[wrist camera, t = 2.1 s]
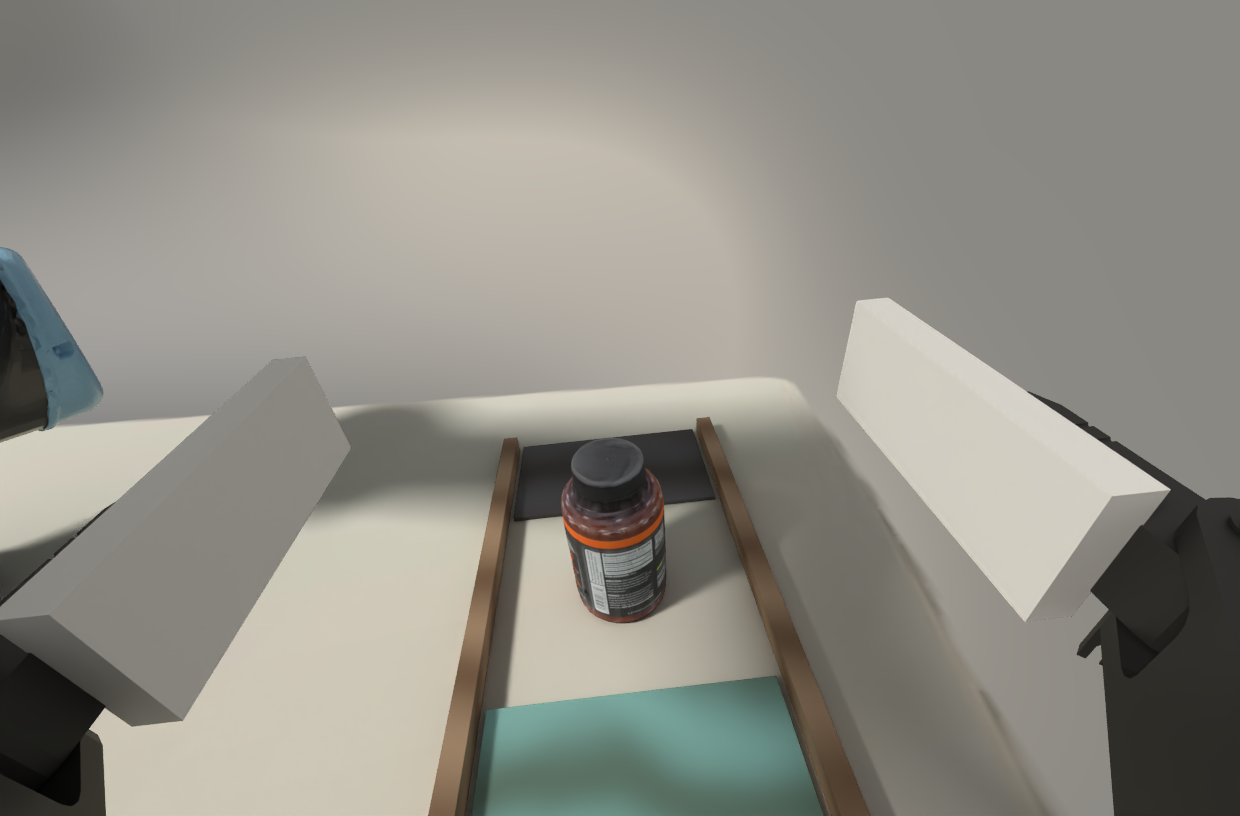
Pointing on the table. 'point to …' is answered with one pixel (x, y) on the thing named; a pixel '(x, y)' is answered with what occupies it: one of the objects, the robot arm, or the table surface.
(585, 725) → the channel track
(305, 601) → the table surface
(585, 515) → the supplement bottle
